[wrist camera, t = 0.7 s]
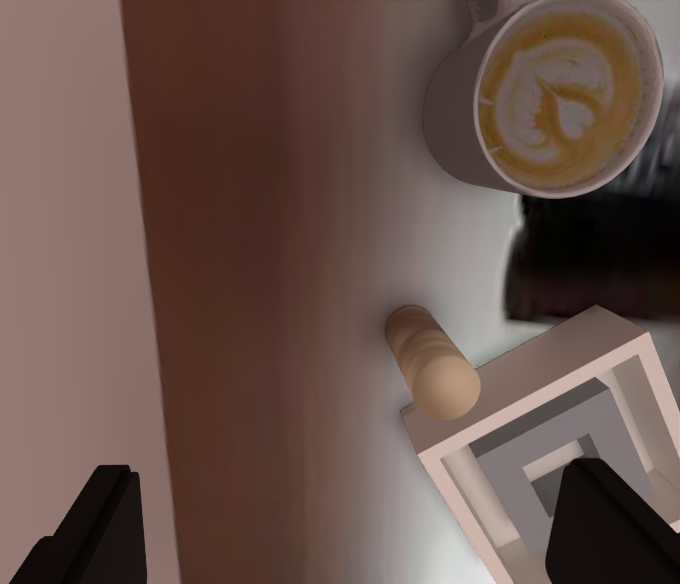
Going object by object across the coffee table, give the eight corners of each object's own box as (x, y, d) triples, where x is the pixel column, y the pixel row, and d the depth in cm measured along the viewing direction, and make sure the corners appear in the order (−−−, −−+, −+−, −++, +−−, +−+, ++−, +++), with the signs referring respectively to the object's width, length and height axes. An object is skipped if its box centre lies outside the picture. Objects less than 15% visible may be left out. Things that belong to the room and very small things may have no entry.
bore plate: (579, 364, 39) (609, 388, 35) (622, 462, 42) (655, 493, 38) (458, 428, 39) (476, 458, 36) (510, 519, 42) (531, 556, 39)
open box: (596, 304, 38) (648, 331, 32) (662, 465, 43) (718, 512, 38) (400, 410, 40) (417, 454, 34) (487, 554, 45) (514, 613, 39)
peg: (420, 296, 37) (463, 347, 27) (443, 337, 38) (491, 399, 28) (375, 321, 37) (402, 380, 28) (399, 361, 38) (432, 431, 29)
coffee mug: (562, 172, 35) (661, 181, 25) (430, 196, 35) (480, 214, 25) (556, -36, 31) (671, -118, 22) (407, -10, 31) (456, -82, 21)
